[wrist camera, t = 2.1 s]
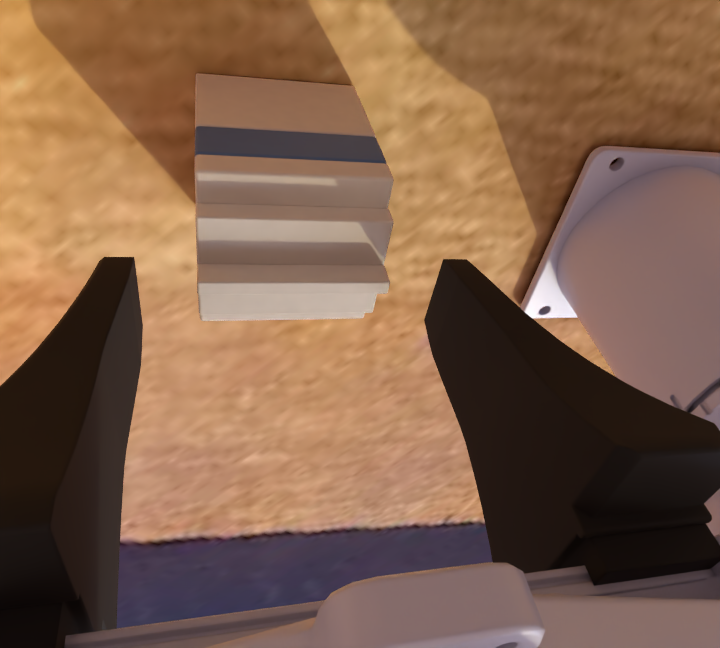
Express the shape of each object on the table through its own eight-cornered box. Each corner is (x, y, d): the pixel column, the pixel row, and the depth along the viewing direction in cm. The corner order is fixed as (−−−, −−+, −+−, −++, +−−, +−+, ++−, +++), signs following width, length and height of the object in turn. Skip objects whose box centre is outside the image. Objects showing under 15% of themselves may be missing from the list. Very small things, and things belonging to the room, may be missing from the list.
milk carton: (354, 85, 18) (409, 209, 13) (334, 214, 21) (373, 352, 16) (195, 72, 17) (194, 203, 12) (199, 210, 20) (199, 357, 15)
